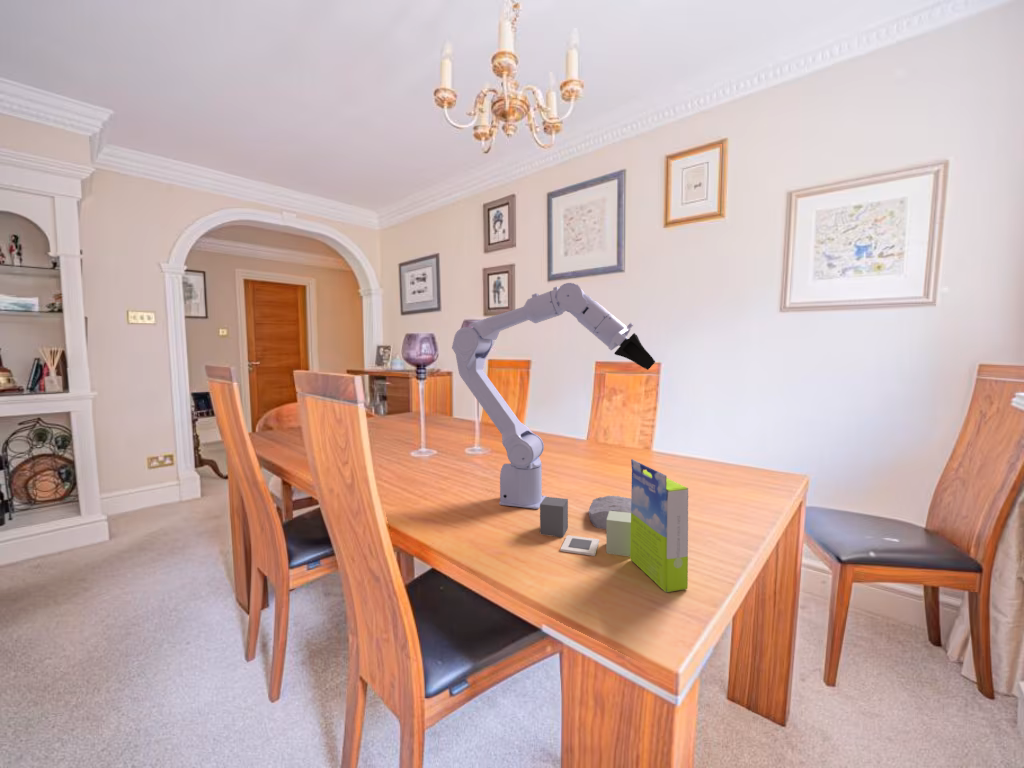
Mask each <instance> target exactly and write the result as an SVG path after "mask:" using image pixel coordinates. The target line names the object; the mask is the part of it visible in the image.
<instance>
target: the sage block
mask: <svg viewBox="0 0 1024 768" xmlns="http://www.w3.org/2000/svg"><path fill="white" fill-rule="evenodd" d="M605 530H606V531H605V532H606V538H605V540H606V541H605V543H606V544H605V545H606V546H605V548H606V553H605V554H608V555H609V554H610V555H617V556H624V557H630V549H631V547H630V546H631V513H626V512H617V511H609V513H608V517H607V527H606V529H605Z"/></svg>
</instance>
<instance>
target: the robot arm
mask: <svg viewBox="0 0 1024 768" xmlns="http://www.w3.org/2000/svg"><path fill="white" fill-rule="evenodd" d="M565 312H568V313H569V314H571V315H572V316H573V317H574V318H576V320H577V322H578V323H580V325H582V327H584V328H585V329H587V330H588V331H589V332H590V333H592V334H593V336H595V338H597V339H598V340H599V341H601V343H603V344H604V345H605V346H607V347H608V349H609V350H610V351H613V350H614V349H616V348H617V347H618V348H617V349H616V350H615V352H614V355H615V356H618V357H619V356H620V357H623V358H625V359H627V360H629V361H631V362H634V364H636V365H638V366H639V367H640V368H641V367H642V368H643V369H645V370H647V371H648V370H650V368H652V366H653V365H654V364H655V363H656V360H655V359H654V358H653V356H652V355H651V354H650V353H649V352H648V351H647V350H646V349H645V347H644V346H643V344H642V343H641V341H640V339H639V336H638V334H636V333H635V332H633V334H632V335H630V336H629V338H628V337H627V336H628V334H629V333H630V331H631V328H632V327H634V323H632V322H629V324H628V325H626V324H624V323H623V322H622V321H621V320H620V319H619V318H617V317H616V316H615V315H613V313H611V312H610V311H609V310H607V308H605V307H604V306H603V305H602V304H600V303H599V302H598V301H597V300H594V299H593V297H591V296H590V295H587V294H586V293H585V291H584V290H583V289H582V288H581V287H580V286H579V285H578V284H577V283H576V284H575V283H573V282H566V283H563V284H562V285H560V287H559V286H555V287H553V288H552V290H550V291H547V292H544V293H541V294H539V293H534V294H531V297H530V298H528V299H527V300H526V301H525V303H524V305H523V306H521V307H519V308H515V309H513V310H509V311H506V312H502V313H499V314H495V315H493V316H489V317H486V318H484V319H481V320H480V319H479V320H477V321H474V322H472V323H469V324H468V326H464V327H461V328H460V329H458V330H457V331H456V332H455V334H454V337H453V341H452V345H451V349H452V350H453V352H454V354H455V357H456V364H457V369H458V374H459V376H460V378H461V380H463V383H464V384H465V385H466V387H467V388H468V389H469V391H470V392H471V393H472V395H473V397H475V399H476V401H478V403H479V405H480V406H481V407H482V409H483V410H484V411H485V413H486V414H487V416H488V418H490V420H491V422H492V424H494V426H495V427H496V429H498V432H499V433H500V434H501V443H502V446H503V447H504V449H505V451H506V456H507V459H508V461H509V462H510V463H504V464H503V465H502V467H500V469H501V470H500V475H499V490H500V491H499V497H500V498H499V503H498V504H499V505H500V506H509V507H516V508H517V507H518V508H524V509H525V508H526V509H535V510H539V509H540V504H541V502H542V501H543V500H544V498H545V497H548V496H547V495H543V492H542V489H543V487H542V483H543V479H542V476H543V475H542V472H543V471H542V469H543V467H542V461H541V457H540V456H542V454H543V452H544V449H545V445H544V444H545V443H544V441H543V439H542V438H541V437H540V436H539V435H537V434H536V433H534V432H533V431H532V430H531V429H530V427H529V426H527V425H525V424H524V423H522V422H521V421H520V420H519V418H518V417H517V415H516V414H515V413H514V412H513V410H512V408H511V407H510V406H509V405H508V403H507V401H506V400H505V399H504V397H503V396H502V395H501V394H500V392H499V391H498V389H497V388H496V386H495V385H494V383H493V382H492V381H491V379H490V378H489V376H488V375H487V374H486V372H485V371H484V365H485V361H486V359H487V357H488V355H489V354H490V352H491V349H492V348H493V345H494V341H497V340H498V339H497V338H498V337H499V334H500V332H502V331H504V330H506V329H509V328H512V327H515V326H517V325H519V324H522V323H525V322H527V321H530V322H532V323H534V324H539V323H541V322H544V321H547V320H550V319H552V318H556V317H559V316H562V315H563V314H564V313H565ZM469 326H470V327H469Z"/></svg>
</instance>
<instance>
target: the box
mask: <svg viewBox="0 0 1024 768" xmlns="http://www.w3.org/2000/svg"><path fill="white" fill-rule="evenodd" d="M630 461H631V490H630V491H631V493H630V494H631V495H630V496H631V497H630V498H631V546H630V547H631V549H630V556H629V559H630V561H632V563H634V564H635V565H636V566H637V567H638V568H639V569H641V571H642V572H643V573H645V574H646V576H648V577H649V578H650V579H651V580H652V581H654V582H655V584H656V585H657V586H658V587H659V588H661V589H662V591H663V592H665V593H670V592H676V591H677V592H679V591H683V590H684V591H685V590H688V585H689V584H688V581H689V580H688V579H689V577H688V576H689V575H688V573H689V569H688V568H689V488H688V487H687V486H684V485H682V484H681V483H678V482H676V481H674V480H672V479H670V478H668V477H667V475H666V474H664V473H661V472H659V471H658V470H655V469H653V468H651V467H650V466H646V465H645V464H643V463H641V462H639V461H637V460H635V459H633V458H631V459H630Z"/></svg>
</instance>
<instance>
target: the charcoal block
mask: <svg viewBox="0 0 1024 768" xmlns="http://www.w3.org/2000/svg"><path fill="white" fill-rule="evenodd" d="M568 500H569V499H568V498H562V497H561V498H560V497H552V496H547V497H545V498H544V500H543V501H542V502H541V504H540V507H539V518H540V519H539V534H540V535H543V536H548V537H549V536H550V537H557V538H564V536H565V535H566V533H567V531H568V529H569V501H568Z"/></svg>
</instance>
